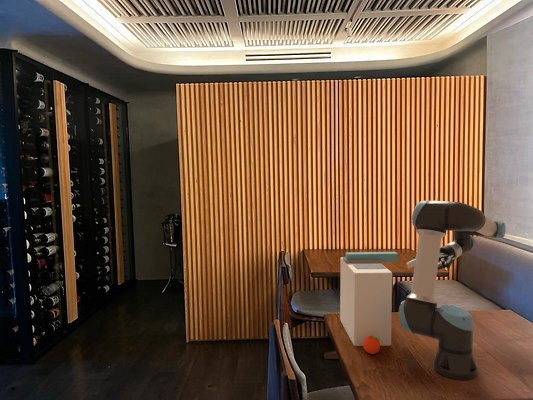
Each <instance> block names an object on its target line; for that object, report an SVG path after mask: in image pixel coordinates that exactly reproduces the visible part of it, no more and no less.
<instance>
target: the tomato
mask: <svg viewBox="0 0 533 400" xmlns="http://www.w3.org/2000/svg"><path fill="white" fill-rule="evenodd" d="M378 339H379V338H377V337H373V336H369V337H367V338H366V339H365V340H364V342H363V346H362V347H363V349H364V351H365V352H366V353H368V354H371V355H375V354H377V353H379V352H380V349H381V346H380V342H379V340H380V339H379V340H378Z"/></svg>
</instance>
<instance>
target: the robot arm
mask: <svg viewBox="0 0 533 400" xmlns="http://www.w3.org/2000/svg"><path fill="white" fill-rule="evenodd" d="M411 220H412V221H411V223H412V225H413V227H414V228H415V232H416V234H417V235H418V241H417V249H416V255H414V256H412V260H410V261H407V262H406V267H407V269H408V270H409V269H411V268H412V267H413V268H414V269H413V270H414V271H413V276H412V277H413V278H412V284H411V292H410V293H409V294H408V295H407V296H406V298H405V300H402V301H401V302H400V305H399V308H398V321H399V325H400V327H401V329H403V331H406V332H409V333H412V334H416V335H419V336H423V337H427V338H431V339H435V340H437V341H438V344H437V345H438V347H437V349H436V352H435V355H434V357H433V360H432V367H433V370H434V371H435V372H436V373H438V374H439V375H442V376H444V377H446V378H449V379H454V380H458V381H459V380H460V381H469V380H473V379H474V377H475V378H476V377H477V376H476V375H478V366H477V364H476V360H475V357H474V353H473V344H474V343H473V341H474V328H475V326H474V317H473V315H472V314H471V313H470V312H469V311H468V310H466V309H465V308H462V307H459V306H456V305H452V304H451V305H448V304H443V305H440V306H439V307H438V302H437V301H436V299H435V291H436V283H437V275H438V271H440V270H442V269H446V268H447V269H450V268H451V266H452V265H453V263H454V262H455V261H456V259H457V258H459V257H460V256H463V255H465V254H466V253H469V252H471V251H472V250H473V249H474V248H475V247H476V244H477V241H476V240H475V238H474V237H486V238H495V239H503V238H504V237H505V236H506V224H505V222H503V221H497V220H496V221H493V220H492V219H490V218H489V217H488V216H486V215H485V213H484V212H483V211H482V210H480V209H478V208H477V207H475V206H473V205H470V204H467V203H465V202H464V203H463V202H460V201H445V200H432V199H431V200H430V199H429V200H421V201H419V202H418V203H417V204H416V205H415V207H414V209H413V211H412V216H411ZM447 231H453V241H451V242H449V243H447V244H445V245H443V246H442V245H441V243H442V239H443V238H444V237H446V236H447ZM473 236H474V237H473Z"/></svg>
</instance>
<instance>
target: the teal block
mask: <svg viewBox="0 0 533 400" xmlns="http://www.w3.org/2000/svg"><path fill="white" fill-rule="evenodd" d="M345 257H346V259H347V260H369V259H380V263H398V262H399V253H398V252H397V251H372V252H371V251H361V252H358V251H357V252H356V251H354V252H353V251H351V252H349V251H348V252H345Z"/></svg>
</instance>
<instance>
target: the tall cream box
mask: <svg viewBox="0 0 533 400" xmlns="http://www.w3.org/2000/svg"><path fill="white" fill-rule="evenodd" d="M339 271H340V272H339V273H340V277H339V278H340V279H339V280H340V283H339V284H340V285H339V286H340V287H339V288H340V290H339V291H340V293H339V294H340V295H339V296H340V297H339V298H340V299H339V303H340V304H339V305H340V306H339V308H340V309H339V320H340V322H341V325H342V326H343V329H344V330H345V332H346V333H347V335H348V337H349V339H350V341H351V343H352V345H353V347H363V342H364V340H365V339H366V338H367V337H369V336H373V337H377V338H379V339H380V340H379V339H378V340H379V342H380V347H381V346H382V347H383V346H392V314H393V313H392V311H393V310H392V308H393V306H392V305H393V302H392V301H393V300H392V299H393V272H392V271H391V270H389V269H388V268H387V267H386V266H385V265H383V264H382V262H380V259H369V260H347V259H346V256H342V257H340V270H339Z"/></svg>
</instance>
